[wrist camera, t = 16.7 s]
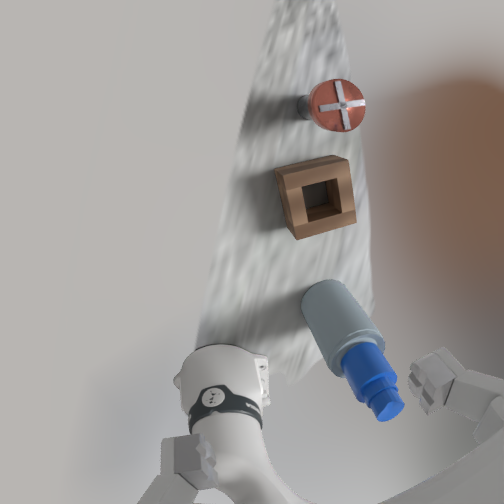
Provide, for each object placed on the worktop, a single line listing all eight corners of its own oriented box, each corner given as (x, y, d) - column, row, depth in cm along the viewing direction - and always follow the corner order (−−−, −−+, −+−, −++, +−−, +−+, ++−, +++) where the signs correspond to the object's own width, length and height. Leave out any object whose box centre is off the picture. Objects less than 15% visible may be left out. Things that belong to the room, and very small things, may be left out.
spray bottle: (347, 315, 54) (413, 417, 32) (302, 327, 54) (353, 442, 31) (348, 274, 51) (429, 377, 28) (298, 286, 50) (361, 405, 27)
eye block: (342, 211, 45) (356, 222, 41) (287, 227, 45) (296, 240, 41) (333, 154, 42) (348, 159, 37) (274, 168, 41) (282, 175, 37)
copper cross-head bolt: (324, 84, 37) (361, 76, 27) (333, 124, 40) (371, 128, 30) (284, 90, 37) (310, 81, 27) (294, 131, 39) (323, 136, 30)
